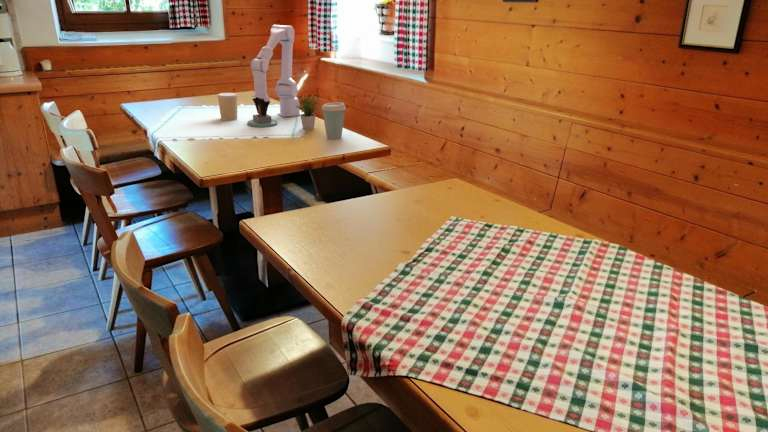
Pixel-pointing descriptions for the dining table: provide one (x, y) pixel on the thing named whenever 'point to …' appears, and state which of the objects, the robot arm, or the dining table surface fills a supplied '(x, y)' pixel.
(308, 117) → the house plant
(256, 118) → the candle dish
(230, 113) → the coffee cup
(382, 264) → the dining table surface
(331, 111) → the disposable coffee cup
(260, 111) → the walnut peg
